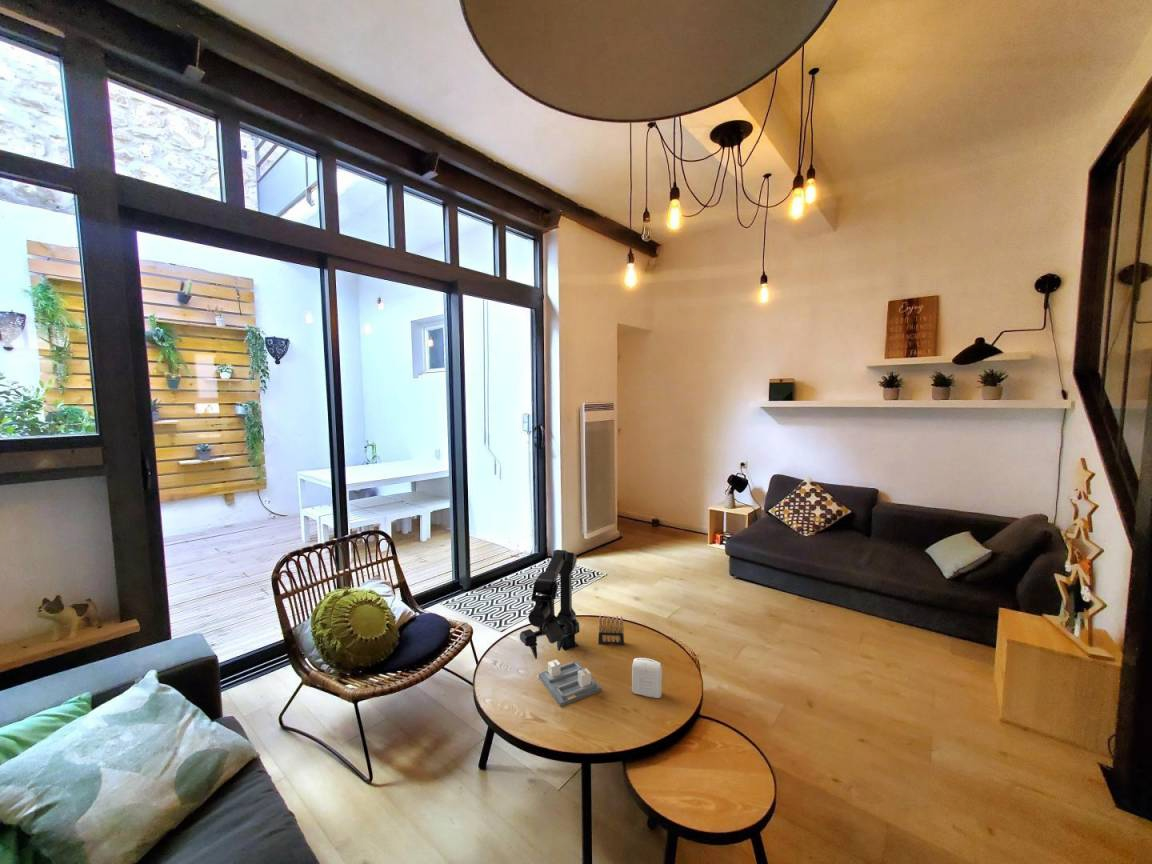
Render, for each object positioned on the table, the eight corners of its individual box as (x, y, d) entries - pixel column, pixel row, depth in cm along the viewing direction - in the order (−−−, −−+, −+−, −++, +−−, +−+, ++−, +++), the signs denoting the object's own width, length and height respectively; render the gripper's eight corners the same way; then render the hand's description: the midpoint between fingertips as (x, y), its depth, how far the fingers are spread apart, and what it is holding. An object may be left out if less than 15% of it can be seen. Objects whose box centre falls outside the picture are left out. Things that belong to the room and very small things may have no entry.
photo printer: (662, 691, 154) (662, 658, 153) (661, 700, 150) (661, 665, 149) (633, 686, 157) (632, 653, 156) (631, 694, 153) (630, 660, 152)
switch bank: (538, 676, 164) (538, 671, 164) (576, 663, 171) (576, 658, 171) (560, 706, 148) (560, 700, 148) (601, 690, 155) (601, 684, 155)
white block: (577, 683, 157) (577, 669, 157) (586, 680, 159) (586, 666, 158) (582, 689, 155) (582, 674, 154) (591, 685, 156) (590, 671, 156)
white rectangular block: (548, 674, 163) (547, 660, 162) (556, 671, 164) (556, 657, 164) (551, 679, 160) (551, 665, 159) (560, 676, 162) (560, 662, 161)
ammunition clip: (598, 644, 184) (597, 616, 183) (598, 641, 186) (598, 614, 185) (624, 645, 183) (623, 617, 182) (624, 642, 185) (623, 615, 184)
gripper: (531, 630, 145) (533, 675, 146) (580, 614, 154) (581, 657, 156) (518, 615, 155) (519, 658, 156) (565, 602, 164) (566, 642, 165)
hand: (547, 654), depth 158 cm, fingers open, 9 cm apart
